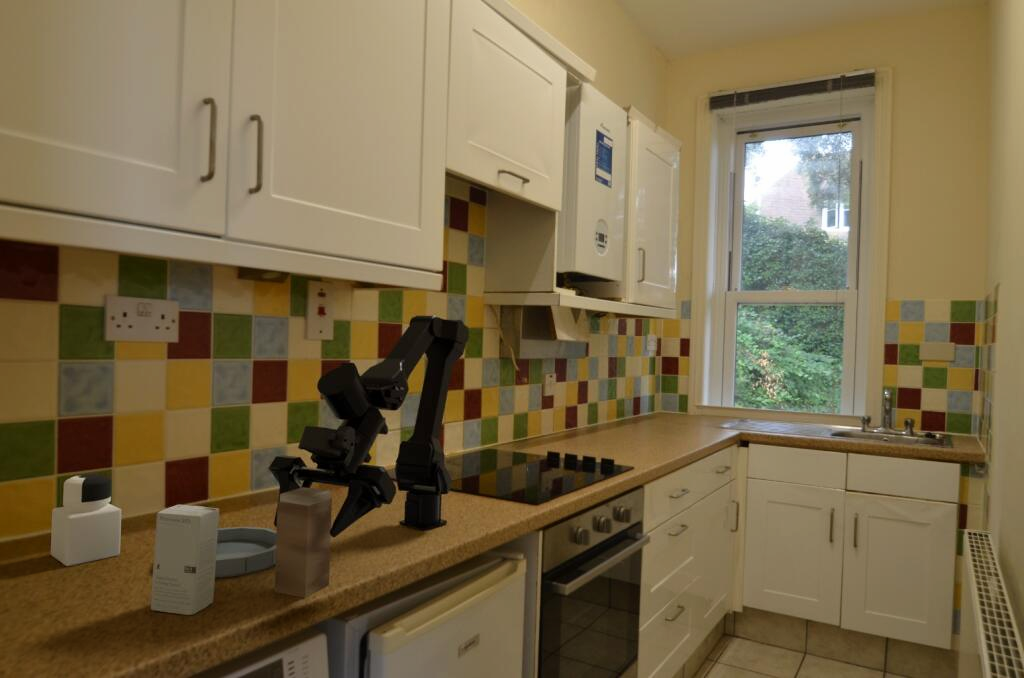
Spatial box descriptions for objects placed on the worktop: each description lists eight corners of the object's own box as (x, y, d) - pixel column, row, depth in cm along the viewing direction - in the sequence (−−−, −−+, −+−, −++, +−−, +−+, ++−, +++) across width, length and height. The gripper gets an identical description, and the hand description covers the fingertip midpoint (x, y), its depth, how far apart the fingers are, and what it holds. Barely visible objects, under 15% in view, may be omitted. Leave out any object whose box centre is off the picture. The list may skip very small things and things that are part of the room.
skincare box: (148, 611, 79) (152, 512, 79) (173, 597, 84) (176, 503, 84) (194, 616, 78) (198, 516, 78) (217, 602, 83) (220, 506, 83)
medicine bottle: (103, 545, 103) (105, 469, 103) (120, 555, 98) (123, 476, 98) (49, 555, 97) (52, 475, 97) (65, 567, 93) (68, 483, 93)
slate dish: (246, 536, 110) (247, 521, 110) (305, 557, 100) (306, 540, 100) (148, 560, 97) (149, 543, 97) (205, 586, 87) (206, 568, 87)
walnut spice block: (299, 579, 91) (302, 486, 91) (328, 585, 89) (332, 490, 89) (274, 591, 86) (277, 494, 87) (305, 598, 85) (308, 498, 85)
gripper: (279, 400, 96) (219, 489, 86) (388, 408, 90) (337, 506, 79) (312, 446, 104) (259, 533, 93) (414, 457, 97) (370, 552, 87)
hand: (303, 530), depth 88 cm, fingers open, 9 cm apart
